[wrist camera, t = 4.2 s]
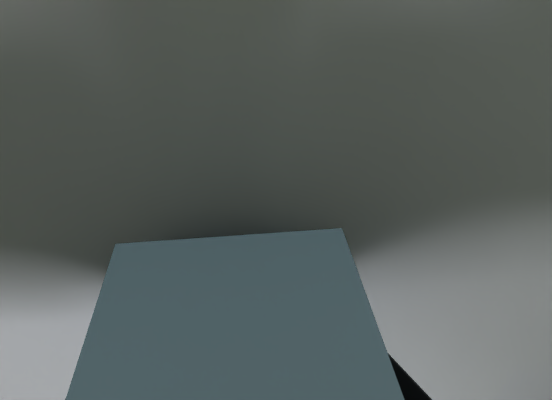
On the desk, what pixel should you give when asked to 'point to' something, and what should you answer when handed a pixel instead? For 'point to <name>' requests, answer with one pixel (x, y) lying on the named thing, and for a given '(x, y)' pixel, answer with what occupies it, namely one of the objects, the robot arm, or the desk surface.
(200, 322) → the cube
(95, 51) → the desk surface
